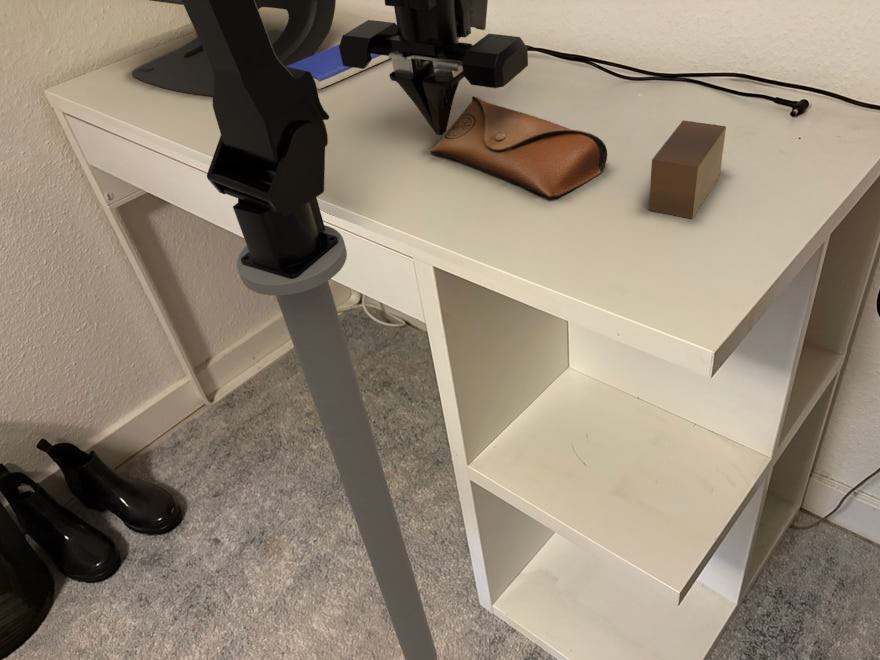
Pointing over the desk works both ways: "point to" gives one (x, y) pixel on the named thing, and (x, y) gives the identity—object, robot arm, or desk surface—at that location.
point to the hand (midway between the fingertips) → (441, 133)
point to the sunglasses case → (523, 149)
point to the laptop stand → (301, 38)
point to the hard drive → (331, 66)
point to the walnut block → (686, 168)
